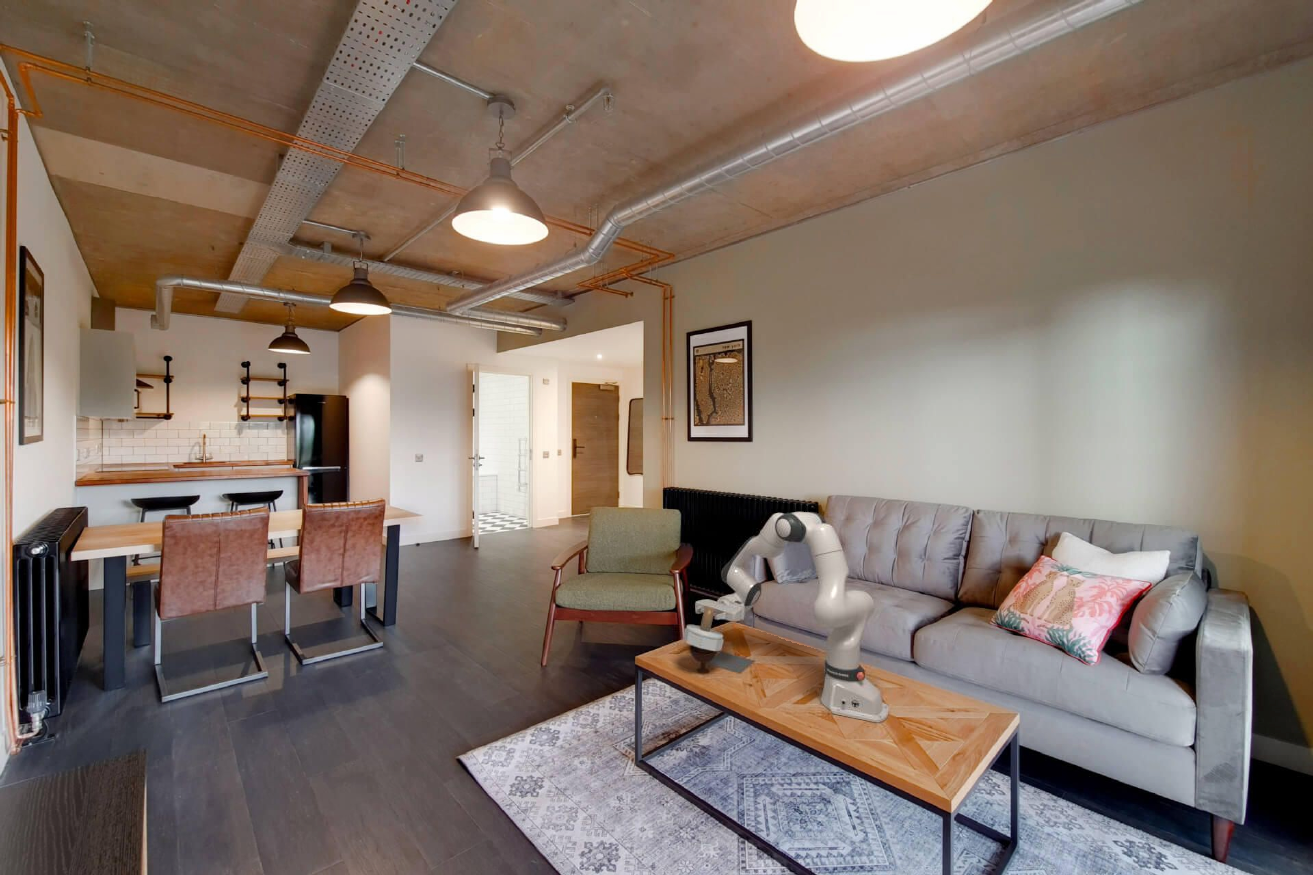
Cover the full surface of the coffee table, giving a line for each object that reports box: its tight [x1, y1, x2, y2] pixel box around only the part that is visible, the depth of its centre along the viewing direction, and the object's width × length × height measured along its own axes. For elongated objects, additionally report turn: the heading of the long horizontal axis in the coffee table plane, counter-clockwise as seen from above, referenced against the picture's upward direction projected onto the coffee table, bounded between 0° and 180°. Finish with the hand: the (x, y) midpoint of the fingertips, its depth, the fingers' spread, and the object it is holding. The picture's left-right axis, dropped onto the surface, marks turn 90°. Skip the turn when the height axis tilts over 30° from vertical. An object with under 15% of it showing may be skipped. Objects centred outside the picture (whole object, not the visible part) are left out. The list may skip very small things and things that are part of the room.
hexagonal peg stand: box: [682, 606, 725, 652], centre depth 222 cm, size 15×15×14 cm
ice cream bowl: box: [689, 644, 718, 675], centre depth 221 cm, size 11×11×15 cm
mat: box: [705, 651, 756, 674], centre depth 230 cm, size 16×15×1 cm
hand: (706, 614), depth 222 cm, fingers open, 8 cm apart
